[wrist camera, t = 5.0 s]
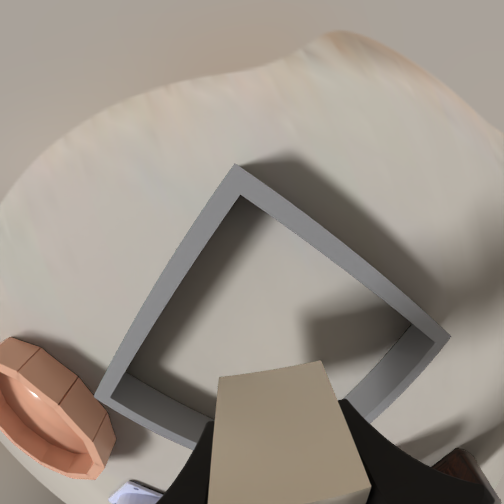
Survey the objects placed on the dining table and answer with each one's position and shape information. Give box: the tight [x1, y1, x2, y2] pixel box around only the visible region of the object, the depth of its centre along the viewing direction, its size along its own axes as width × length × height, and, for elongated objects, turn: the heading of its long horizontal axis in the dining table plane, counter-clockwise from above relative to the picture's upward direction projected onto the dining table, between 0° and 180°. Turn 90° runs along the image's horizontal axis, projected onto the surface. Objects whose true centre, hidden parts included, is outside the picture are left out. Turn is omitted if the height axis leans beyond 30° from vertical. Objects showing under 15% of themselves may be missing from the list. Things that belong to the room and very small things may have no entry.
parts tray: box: [93, 164, 451, 450], centre depth 14 cm, size 14×14×2 cm
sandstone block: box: [208, 360, 371, 504], centre depth 8 cm, size 4×4×6 cm
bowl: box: [0, 337, 116, 480], centre depth 14 cm, size 12×12×3 cm
